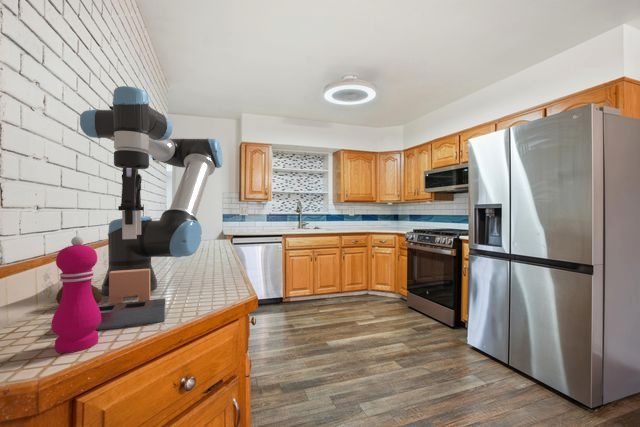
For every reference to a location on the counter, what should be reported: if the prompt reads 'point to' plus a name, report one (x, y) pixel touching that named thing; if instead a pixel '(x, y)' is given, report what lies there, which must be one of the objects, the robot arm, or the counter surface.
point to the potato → (95, 293)
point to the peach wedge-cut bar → (129, 285)
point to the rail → (131, 313)
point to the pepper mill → (76, 299)
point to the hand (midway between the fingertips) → (132, 236)
